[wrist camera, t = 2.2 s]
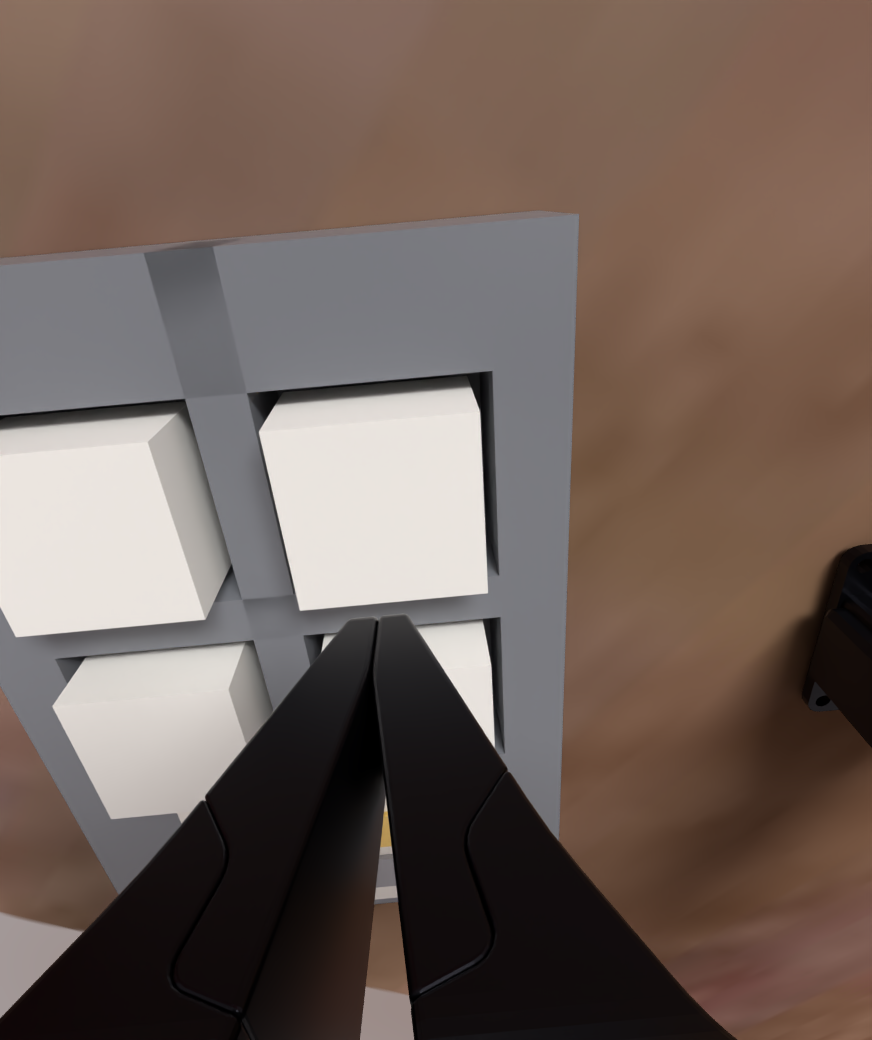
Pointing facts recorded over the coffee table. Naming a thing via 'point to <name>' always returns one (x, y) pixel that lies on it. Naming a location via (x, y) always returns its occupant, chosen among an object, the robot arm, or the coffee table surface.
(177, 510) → the button
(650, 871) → the coffee table surface
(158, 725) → the button
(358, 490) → the button
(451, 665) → the button
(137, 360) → the panel
